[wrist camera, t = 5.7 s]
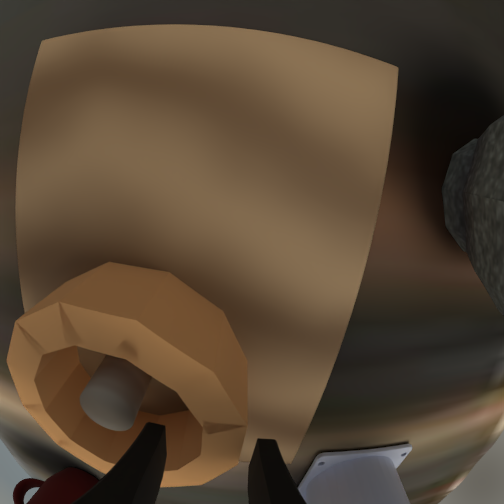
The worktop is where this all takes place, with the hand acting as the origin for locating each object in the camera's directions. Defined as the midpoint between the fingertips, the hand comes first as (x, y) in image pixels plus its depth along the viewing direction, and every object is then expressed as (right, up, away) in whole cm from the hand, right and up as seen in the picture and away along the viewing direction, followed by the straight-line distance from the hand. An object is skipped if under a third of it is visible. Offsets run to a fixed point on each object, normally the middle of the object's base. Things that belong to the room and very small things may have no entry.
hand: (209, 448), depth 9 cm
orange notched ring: (-4, +2, +4) cm, 6 cm away
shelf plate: (-2, +6, +4) cm, 7 cm away
